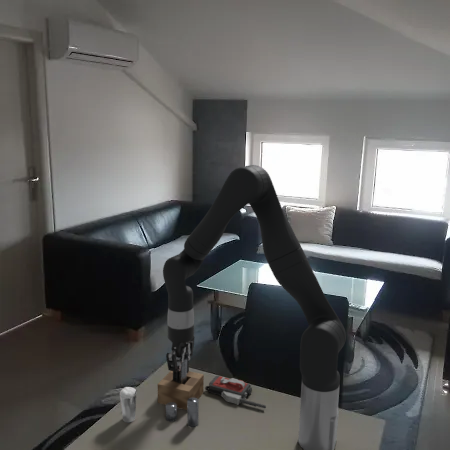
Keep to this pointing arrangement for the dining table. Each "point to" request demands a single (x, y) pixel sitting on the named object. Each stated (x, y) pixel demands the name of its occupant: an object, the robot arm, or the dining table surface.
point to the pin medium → (192, 412)
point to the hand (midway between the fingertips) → (181, 376)
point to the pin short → (171, 411)
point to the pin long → (183, 371)
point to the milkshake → (128, 404)
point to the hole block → (180, 389)
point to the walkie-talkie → (232, 390)
